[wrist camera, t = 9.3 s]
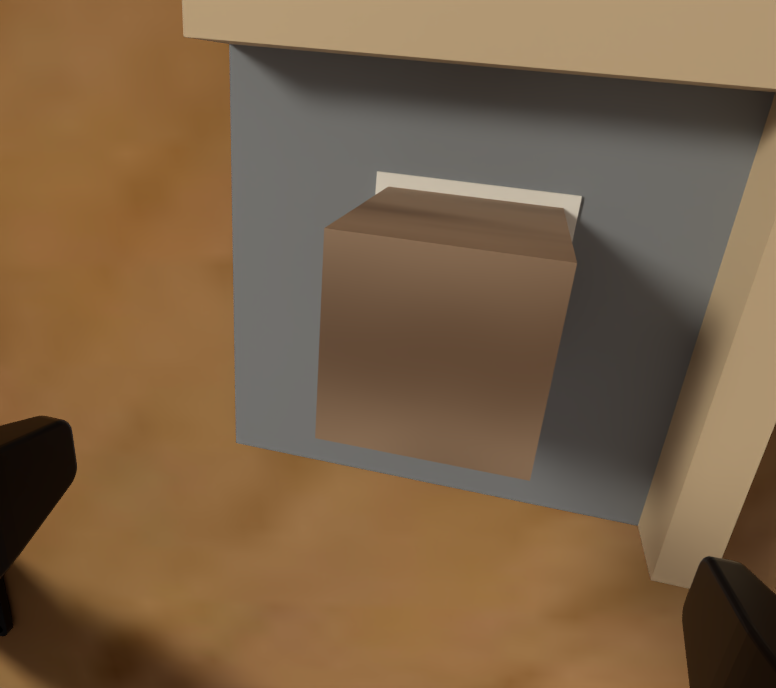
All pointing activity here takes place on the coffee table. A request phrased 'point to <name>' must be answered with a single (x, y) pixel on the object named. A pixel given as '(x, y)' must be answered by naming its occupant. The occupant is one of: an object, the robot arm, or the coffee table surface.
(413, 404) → the walnut block
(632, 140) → the building mat
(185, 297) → the coffee table surface
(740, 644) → the robot arm
